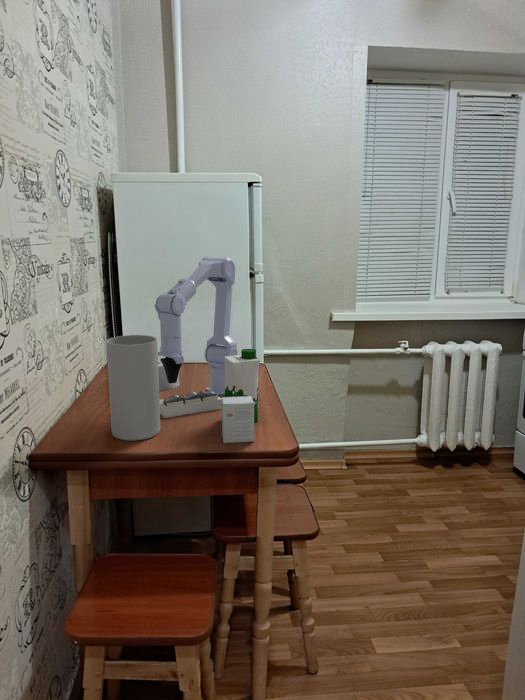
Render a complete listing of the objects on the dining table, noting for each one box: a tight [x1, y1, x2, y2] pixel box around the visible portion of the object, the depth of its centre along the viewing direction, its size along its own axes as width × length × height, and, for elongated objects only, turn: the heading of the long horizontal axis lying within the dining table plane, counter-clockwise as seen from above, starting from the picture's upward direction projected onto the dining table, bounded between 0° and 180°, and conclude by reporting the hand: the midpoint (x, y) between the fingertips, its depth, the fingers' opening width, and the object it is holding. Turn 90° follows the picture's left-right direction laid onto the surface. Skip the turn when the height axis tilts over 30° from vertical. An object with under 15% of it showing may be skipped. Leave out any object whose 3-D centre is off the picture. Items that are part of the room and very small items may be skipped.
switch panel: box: [159, 395, 222, 419], centre depth 155 cm, size 22×8×4 cm, turn 119°
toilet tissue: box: [158, 359, 180, 392], centre depth 177 cm, size 9×13×9 cm
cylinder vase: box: [105, 334, 161, 442], centre depth 134 cm, size 12×12×25 cm
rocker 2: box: [182, 391, 200, 402], centre depth 152 cm, size 4×3×2 cm, turn 119°
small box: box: [221, 396, 255, 444], centre depth 132 cm, size 8×6×10 cm
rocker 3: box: [198, 390, 218, 398], centre depth 155 cm, size 4×3×2 cm, turn 119°
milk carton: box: [224, 348, 261, 423], centre depth 144 cm, size 9×9×20 cm
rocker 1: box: [163, 393, 182, 405], centre depth 150 cm, size 4×3×2 cm, turn 119°
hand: (172, 382), depth 149 cm, fingers closed
